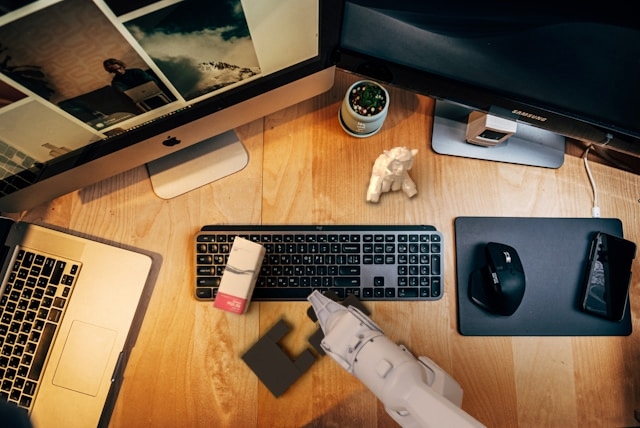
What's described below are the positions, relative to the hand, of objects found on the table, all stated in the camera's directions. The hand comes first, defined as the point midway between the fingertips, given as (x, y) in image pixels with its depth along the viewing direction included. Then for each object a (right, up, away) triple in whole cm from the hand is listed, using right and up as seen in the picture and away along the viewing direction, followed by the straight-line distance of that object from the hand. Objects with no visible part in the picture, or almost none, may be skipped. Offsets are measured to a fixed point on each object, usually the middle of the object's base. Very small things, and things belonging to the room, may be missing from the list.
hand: (339, 324), depth 76 cm
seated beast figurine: (+9, +26, +6) cm, 28 cm away
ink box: (-18, +3, -3) cm, 19 cm away
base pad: (-10, -6, 0) cm, 12 cm away
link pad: (0, 0, +1) cm, 1 cm away
